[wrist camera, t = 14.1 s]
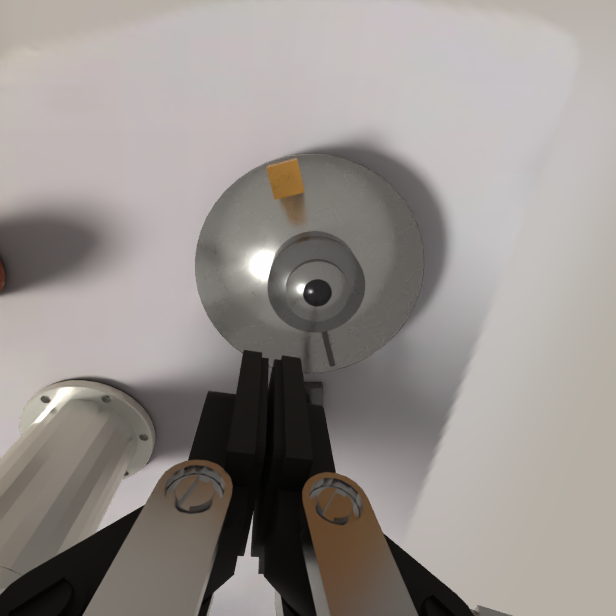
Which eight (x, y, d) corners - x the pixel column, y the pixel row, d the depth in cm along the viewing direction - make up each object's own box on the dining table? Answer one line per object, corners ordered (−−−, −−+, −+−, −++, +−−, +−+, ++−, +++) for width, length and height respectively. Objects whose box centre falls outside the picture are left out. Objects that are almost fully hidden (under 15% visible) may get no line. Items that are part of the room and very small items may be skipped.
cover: (360, 310, 31) (369, 332, 27) (276, 320, 31) (274, 343, 27) (355, 225, 28) (365, 237, 24) (262, 237, 28) (258, 250, 24)
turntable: (428, 339, 34) (446, 366, 30) (238, 381, 35) (231, 414, 31) (404, 126, 27) (425, 123, 22) (164, 187, 28) (142, 195, 23)
